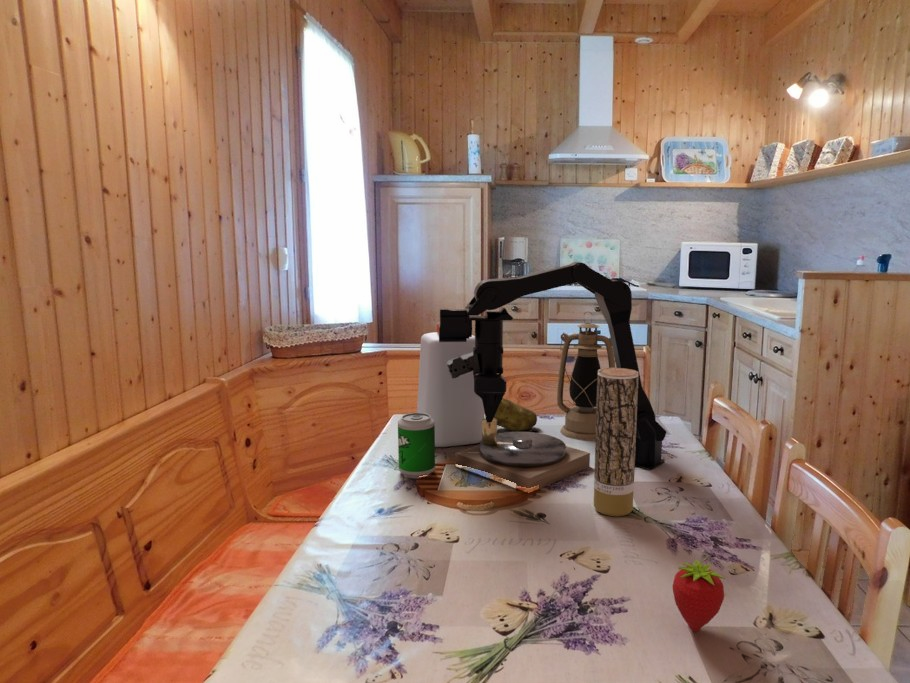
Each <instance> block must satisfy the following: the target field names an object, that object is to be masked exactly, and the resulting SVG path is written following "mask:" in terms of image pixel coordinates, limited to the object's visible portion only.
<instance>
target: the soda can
mask: <svg viewBox="0 0 910 683" xmlns="http://www.w3.org/2000/svg"><path fill="white" fill-rule="evenodd" d="M397 444H398V445H397V447H398V449H397V450H398V455H397V456H398V471H399V472H400V473H401V474H402V475H403V476H404V477H406V478H409V479H418V478H417V477H419V476H423V475H427V474H430V473H431V472H432V473H433V472H434V471H435V470H436V447H435V422H434V420H433V419H432V418H431V417H430V415H428V414H425V413H417V412H412V413H406V414H403V415H402V416H401V418H400V419H399V420H397ZM432 473H431V474H432ZM431 474H430V475H431Z"/></svg>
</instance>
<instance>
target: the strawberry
mask: <svg viewBox="0 0 910 683" xmlns="http://www.w3.org/2000/svg"><path fill="white" fill-rule="evenodd" d="M707 558H708V556H705V558H704V559H702V561H699V560H698V559H697V558H696V559H695V561H694V564H690V563H686V562H681V564H682V565H684V566H679V567H677V569H678V570H679V571H677V573H675V575H674V578H673V584H672V593H673V598H674V602H675V606H676V607H677V610H678V611H679V612H680V615H681V617H682V618H683V620H684V622H685V623H686V624H687V626H688V627H689V629H690V630H691V631H692V632H699V631H700V630H701V629H702V628H703V627H704V626H705V625H707V624H709V623H710V622H711V620H712V619H714V617H715V616H717V614H718V613H719V612H720V609H721V608H722V605H723V602H724V600H725V591H724V590H725V588H724V584H723V581H722V580H723V579H724V580H725V579H726V577H725V576H722V575H720V574H719V573H717V572H715V571H714V570H712V569H711V566H712V564H704V565H702V563H703V562H704V561H705V560H706V559H707ZM721 579H722V580H721Z"/></svg>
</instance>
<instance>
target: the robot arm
mask: <svg viewBox="0 0 910 683" xmlns="http://www.w3.org/2000/svg"><path fill="white" fill-rule="evenodd" d="M576 283H577V284H578V285H579V286H581V287H583V288H584V289H586V290H587V291H588V292H590V293H592V294H593V295H594V297H595V300H596V303H597V305H598V307H599V310H600V313H601V315H602V317H603V318H604V320H605V322H606V324H607V327H608V331H609V338H610V337H611V342H612V348H613V353H614V361H615V368H626V369H632V370H635V371H637V372H638V375H639V377H638V401H637V425H636V449H635V467H639V468H642V469H646V470H653V469H655V468H656V467H658V466H661V465H663V464H665V463H666V462H665V461H666V460H665V459H664V458H662V452H663V451H662V450H663V441H664V439H665V438H666V435H667V430H666V429H665V428H663V426H662V425H661V424H659V422H657V420H656V414H655V411H654V408H653V406H652V403H651V401H650V399H649V397H648V396H647V393H646V392H645V390H644V388H643V383H642V380H641V375H640V368H639V364H638V363H639V362H638V359H637V358H638V357H637V355H636V349H635V348H636V347H635V345H634V343H635V342H634V339H633V333H632V329H631V324H630V323H631V321H630V320H631V314H632V311H633V310H632V309H633V306H632V304H633V301H632V296H633V295H632V294H633V293H632V290H631V287H630V286H629V285H628V284H627V283H626V282H624V281H622V280H621V281H620V280H617V279H613V278H608V277H607V276H605V275H603V274H601V273H600V272H598V271H596V270H594V269H592V268H591V267H589V265H587V264H586V263H584V262H580V261H573V262H571V263H569V264H566V265H563V266H559V267H555V268H549V269H545V270H541V271H539V272H535V273H530V274H527V275H522V276H518V277H502V278H501V277H500V278H486V279H483V280H481V281H479V282H478V283H477V285H476V286H475V288H474V291H473V295H474V296H473V297H472V299H470V301H469V303H467V305H466V307H465V308H463V309H455V308H453V309H451V308H439V322H440V323H439V322H438V323H439V342H466V341H467V339H469V337H472V335H473V321H474V336H475V346H473V352H471V353H468V354H465V355H462V356H459V357H456V358H453V359H451V360H449V361H447V366H448V369H449V372H450V374H451V377H452V378H453V379H454V378H457V377H459V376H460V375H463V374H466V373H469V372H471V371H473V376H474V392H475V394H476V395H478V396H479V397H480V398H481V399H482V402H483V407H484V418H486V422H492V420H493V418H494V416H495V414H496V411H497V409H498V407H499V405H500V402H501V400H502V398H504V396H505V394H506V392H507V380H506V378H505V377H504V376H503V374H504V366H503V364H504V363H503V359H504V358H503V355H504V345H503V344H504V321H513V319H514V317H513V316H512V315H511V314H510V313H509V312H508V310H507V308H505V307H504V306H506V305H508V304H511V303H512V302H514V301H516V300H517V299H519V298H522V297H525V296H528V295H532V294H537V293H541V292H543V291H549V290H553V289H557V288H561V287H564V286H568V285H572V284H576ZM499 308H501V309H500V310H499V311H497V309H499ZM494 310H496V311H494ZM484 312H485V313H484ZM483 313H484V314H485V315H482V314H483ZM476 374H478V375H476Z"/></svg>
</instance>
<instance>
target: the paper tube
mask: <svg viewBox="0 0 910 683" xmlns="http://www.w3.org/2000/svg"><path fill="white" fill-rule="evenodd" d="M638 377H639V375H638V372H637V371H635V370H632V369H626V368H617V367H615V368H609V367H605V368H601V369H599V370H598V374H597V404H596V405H597V406H596V407H595V408H596V439H595V440H594V441H595V443H594V444H595V445H594V474H593V475H594V476H593V477H594V479H593V507H594V509H595V510H596V511H597V512H599V513H600V514H602V515H605V516H609V517H623V516H627V515H629V514H631V512H632V511H633V509H634V490H635V472H636V471H635V469H636V466H635V449H636V425H637V401H638Z"/></svg>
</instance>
